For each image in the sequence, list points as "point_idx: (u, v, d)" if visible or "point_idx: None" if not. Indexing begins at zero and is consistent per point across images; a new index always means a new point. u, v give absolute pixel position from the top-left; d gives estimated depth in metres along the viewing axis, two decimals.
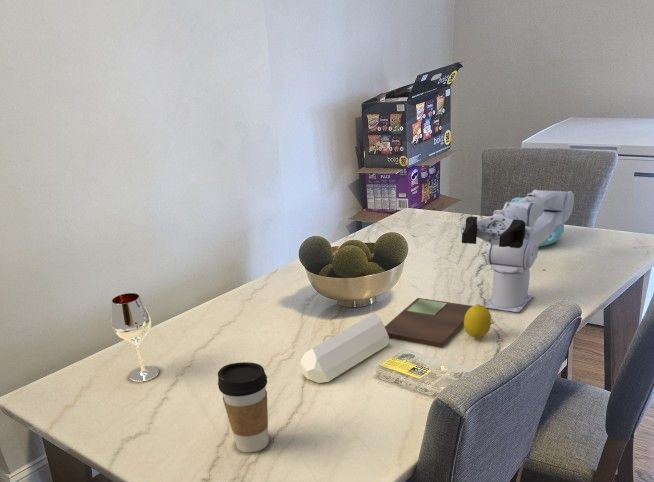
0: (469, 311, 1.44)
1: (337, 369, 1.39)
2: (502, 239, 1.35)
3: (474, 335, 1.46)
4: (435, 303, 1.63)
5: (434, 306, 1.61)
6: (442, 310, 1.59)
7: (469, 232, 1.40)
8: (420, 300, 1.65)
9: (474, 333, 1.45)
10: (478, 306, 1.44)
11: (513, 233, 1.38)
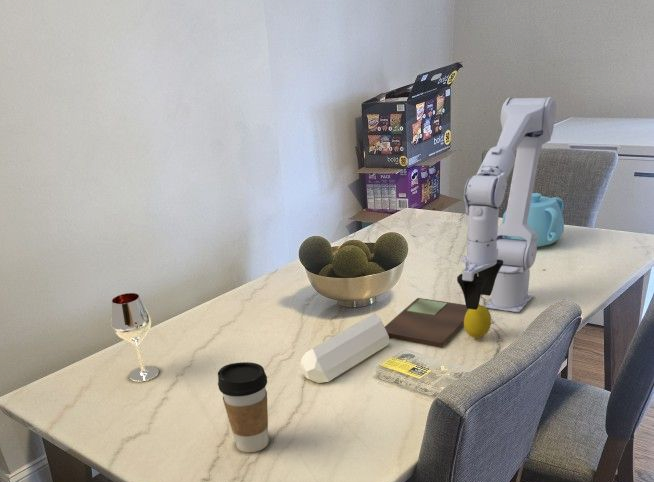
0: (469, 311, 1.44)
1: (337, 369, 1.39)
2: (469, 308, 1.41)
3: (474, 335, 1.46)
4: (435, 303, 1.63)
5: (434, 306, 1.61)
6: (442, 310, 1.59)
7: None
8: (420, 300, 1.65)
9: (474, 333, 1.45)
10: (478, 306, 1.44)
11: (470, 283, 1.38)
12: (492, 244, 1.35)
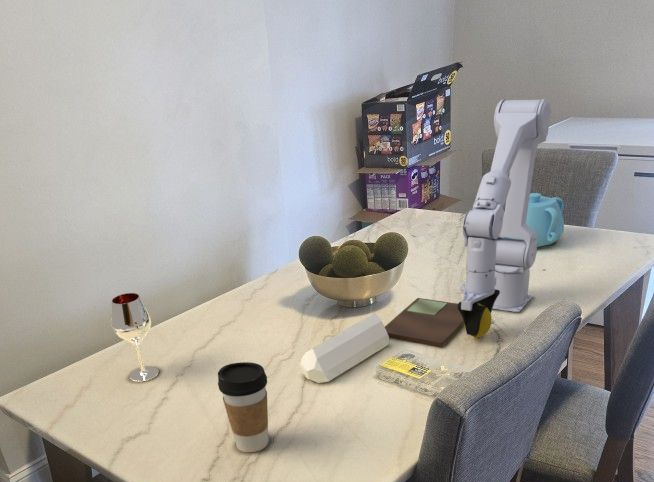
0: None
1: (338, 369, 1.39)
2: (469, 334, 1.45)
3: None
4: (435, 303, 1.63)
5: (434, 306, 1.61)
6: (442, 310, 1.59)
7: None
8: (420, 300, 1.65)
9: None
10: None
11: (470, 310, 1.42)
12: (490, 274, 1.38)
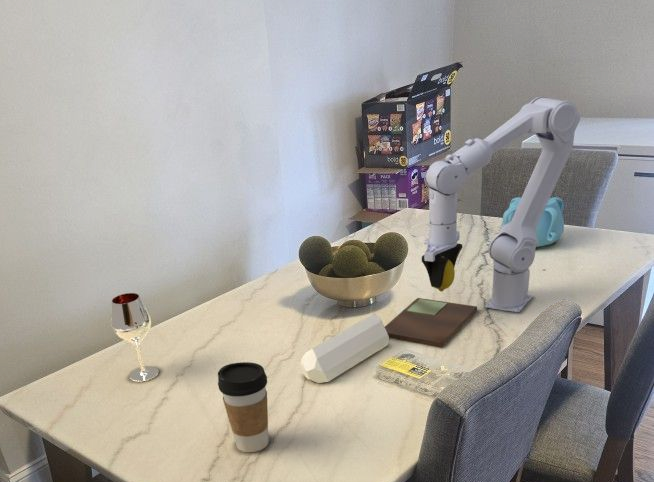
0: None
1: (338, 369, 1.39)
2: (434, 286, 1.51)
3: None
4: (435, 303, 1.63)
5: (434, 306, 1.61)
6: (442, 310, 1.59)
7: None
8: (420, 300, 1.65)
9: None
10: None
11: (434, 262, 1.48)
12: (452, 227, 1.44)
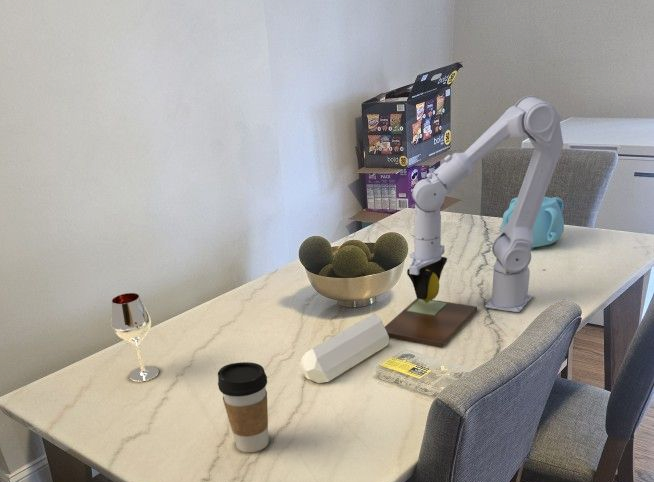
0: None
1: (338, 369, 1.39)
2: (419, 298, 1.58)
3: None
4: (435, 303, 1.63)
5: (434, 306, 1.61)
6: (442, 310, 1.59)
7: None
8: (420, 300, 1.65)
9: None
10: None
11: (419, 275, 1.55)
12: (436, 242, 1.51)
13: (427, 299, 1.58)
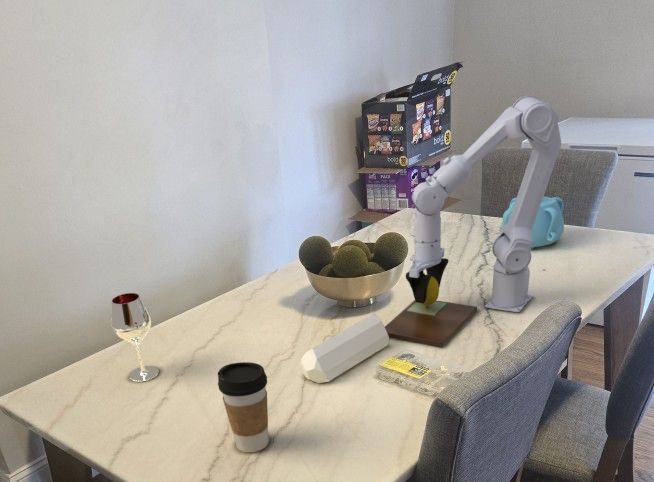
0: None
1: (338, 369, 1.39)
2: (418, 302, 1.58)
3: (424, 303, 1.59)
4: (435, 303, 1.63)
5: (434, 306, 1.61)
6: (442, 310, 1.59)
7: None
8: None
9: None
10: None
11: (417, 279, 1.54)
12: (436, 244, 1.51)
13: (427, 303, 1.59)
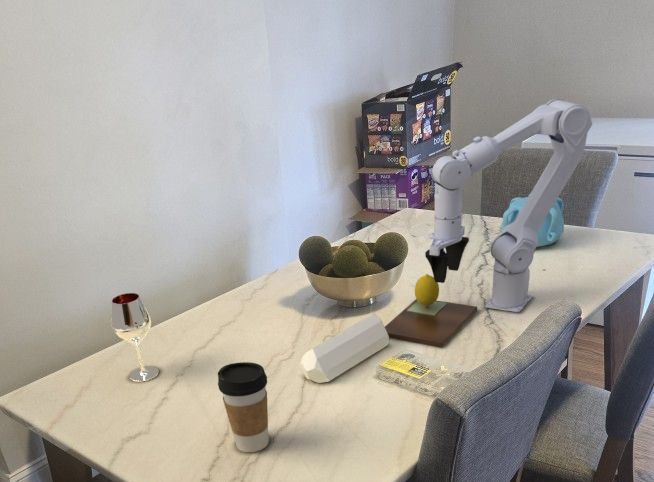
0: (419, 281, 1.58)
1: (338, 369, 1.39)
2: (437, 281, 1.53)
3: (424, 303, 1.59)
4: (435, 303, 1.63)
5: (434, 306, 1.61)
6: (442, 310, 1.59)
7: (450, 259, 1.57)
8: None
9: (423, 301, 1.58)
10: (427, 276, 1.57)
11: (437, 258, 1.50)
12: (457, 221, 1.46)
13: (427, 303, 1.59)
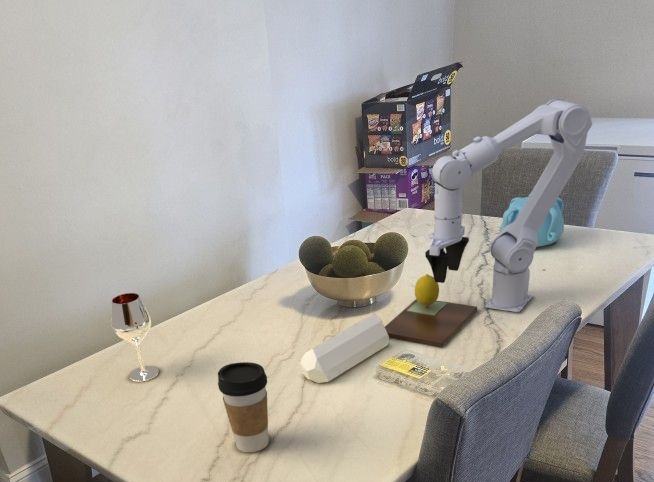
0: (419, 281, 1.58)
1: (338, 369, 1.39)
2: (437, 281, 1.53)
3: (424, 303, 1.59)
4: (435, 303, 1.63)
5: (434, 306, 1.61)
6: (442, 310, 1.59)
7: (450, 259, 1.57)
8: None
9: (423, 301, 1.58)
10: (427, 276, 1.57)
11: (437, 258, 1.50)
12: (457, 221, 1.46)
13: (427, 303, 1.59)
